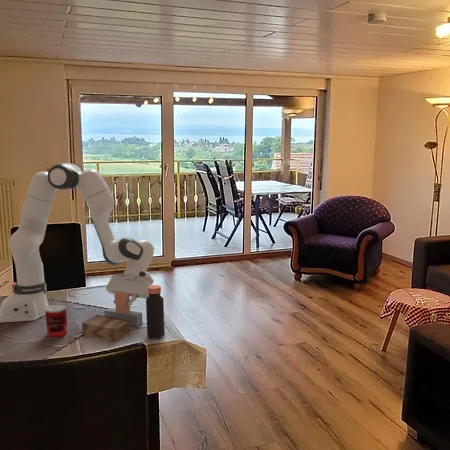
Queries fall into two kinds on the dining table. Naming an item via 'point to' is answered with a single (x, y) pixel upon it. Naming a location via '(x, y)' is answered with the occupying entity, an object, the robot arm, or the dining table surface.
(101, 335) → the block
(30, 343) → the dining table surface
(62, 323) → the canned food
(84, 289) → the dining table surface
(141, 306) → the dining table surface
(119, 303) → the stub
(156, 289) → the bottle
